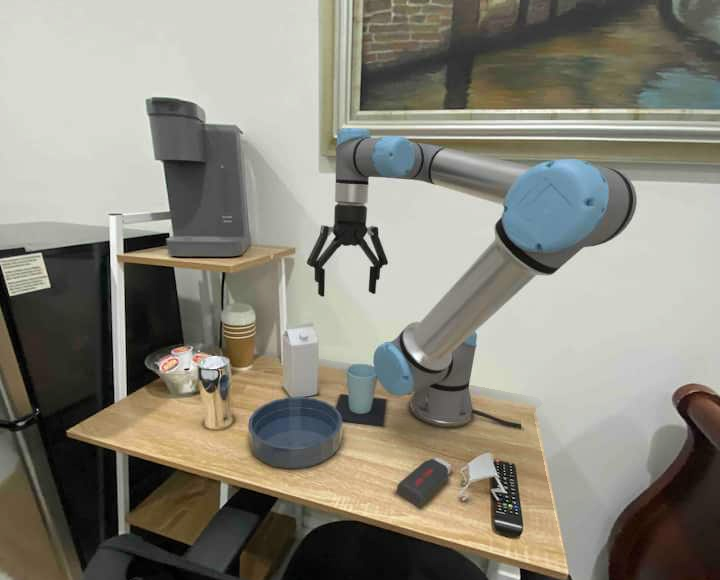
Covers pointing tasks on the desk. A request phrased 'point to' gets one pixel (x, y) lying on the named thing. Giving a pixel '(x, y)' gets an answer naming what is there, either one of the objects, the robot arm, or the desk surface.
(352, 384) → the cup
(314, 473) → the desk surface
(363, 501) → the desk surface
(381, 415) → the coaster
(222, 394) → the silver metal cylinder
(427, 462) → the usb drive
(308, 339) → the milk carton
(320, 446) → the bowl
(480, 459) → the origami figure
